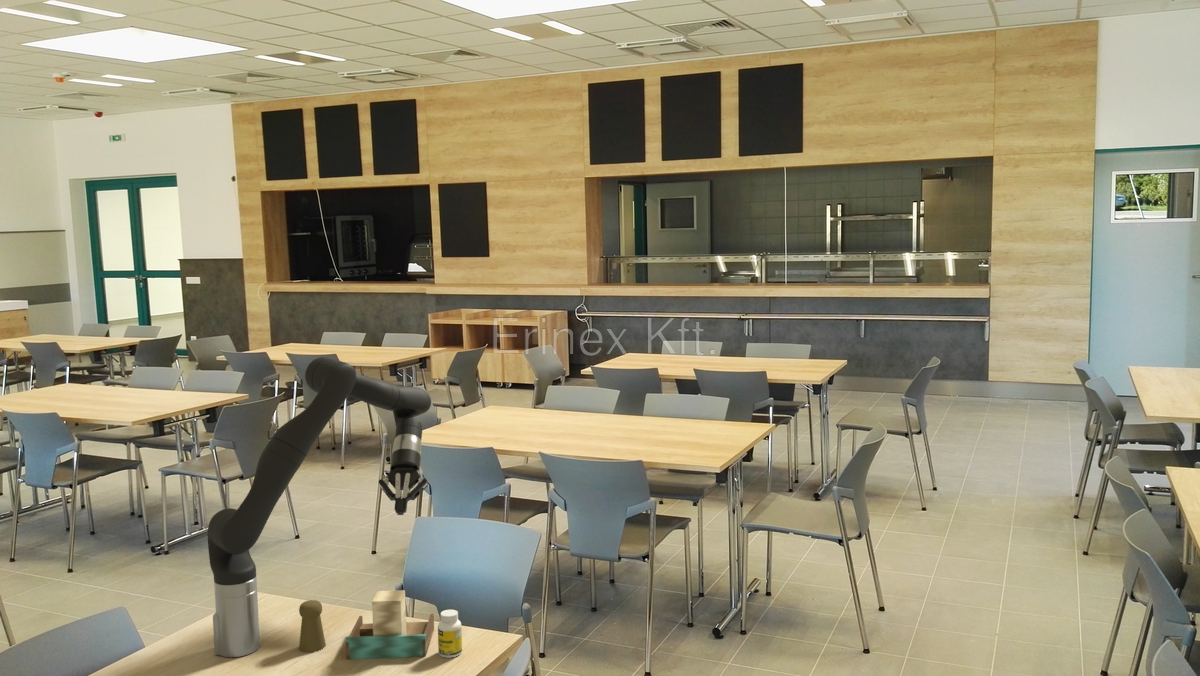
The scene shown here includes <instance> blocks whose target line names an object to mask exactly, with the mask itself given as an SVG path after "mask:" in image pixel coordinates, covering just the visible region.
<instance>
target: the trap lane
mask: <svg viewBox="0 0 1200 676" xmlns="http://www.w3.org/2000/svg"><path fill="white" fill-rule="evenodd" d="M434 617H435V615H434V613H430V614H429V619H428V621H413V622H411V621H410V622H409V621H406V634H407V635H387V636H373V622H372V623H370V622H369V623H364V621H363V615H359V616H358V617H357V620H356V622H355V624H354V626H353V628H352V629H351V632H350V634H349V635H348V636H346V637H345V653H346V655H345V656H346V660H357V659H358V660H359V659H360V660H361V659H362V660H363V659H388V658H394V659H395V658H413V657H412V656H425V657H426V656H427V653H428V650H429V648H430V644H431V641H432V638H433V635H434V631H435V618H434ZM410 656H411V657H410Z"/></svg>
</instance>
